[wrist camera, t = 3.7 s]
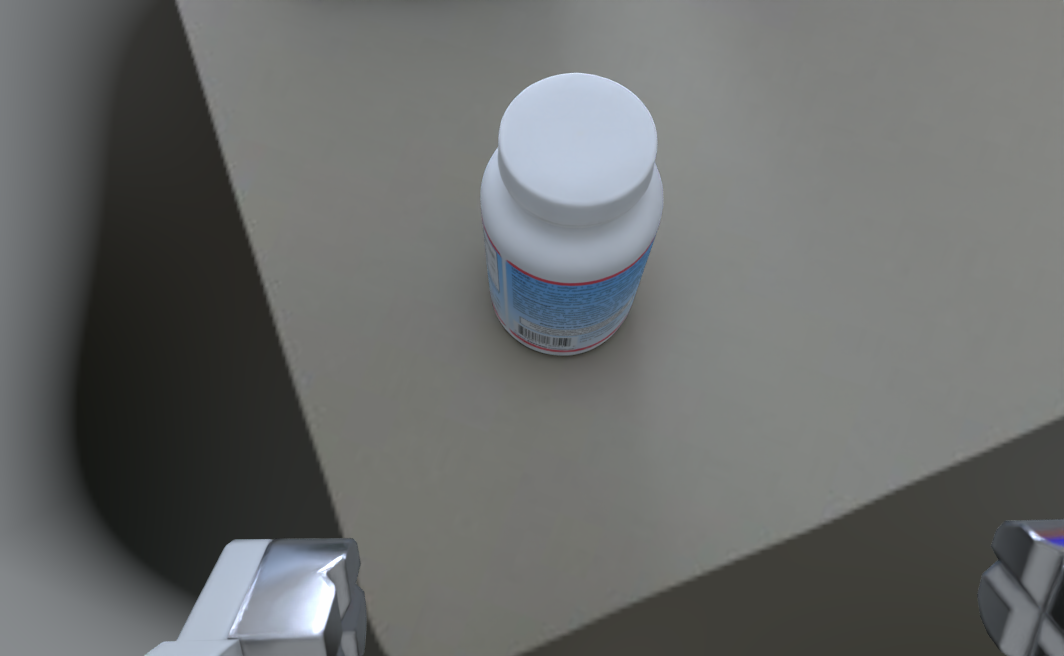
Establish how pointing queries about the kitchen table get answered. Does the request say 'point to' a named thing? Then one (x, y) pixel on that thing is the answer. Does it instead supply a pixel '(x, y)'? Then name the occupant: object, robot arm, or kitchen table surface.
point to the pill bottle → (570, 211)
